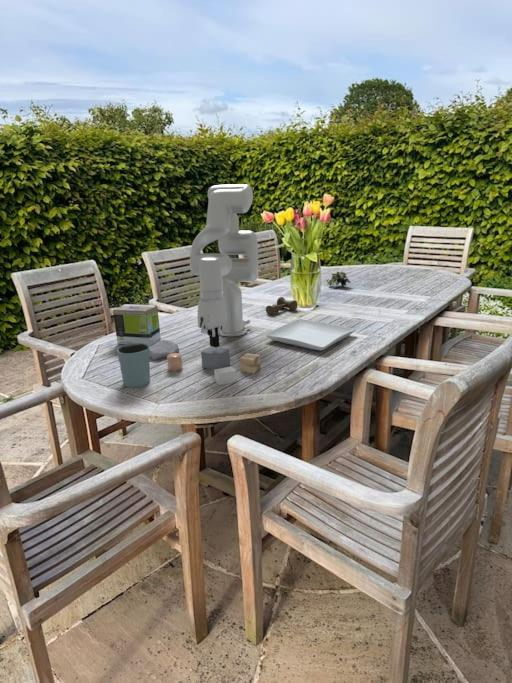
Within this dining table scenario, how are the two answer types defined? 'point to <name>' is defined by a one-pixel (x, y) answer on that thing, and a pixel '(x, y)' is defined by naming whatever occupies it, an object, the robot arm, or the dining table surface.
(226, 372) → the pale grey block
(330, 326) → the square plate
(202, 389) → the dining table surface
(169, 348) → the stone block
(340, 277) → the miniature tree
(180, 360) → the terracotta cylinder
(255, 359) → the oak cube
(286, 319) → the dining table surface
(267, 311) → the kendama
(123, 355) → the blue-grey cup
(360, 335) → the dining table surface
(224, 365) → the slate block
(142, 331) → the tea box
